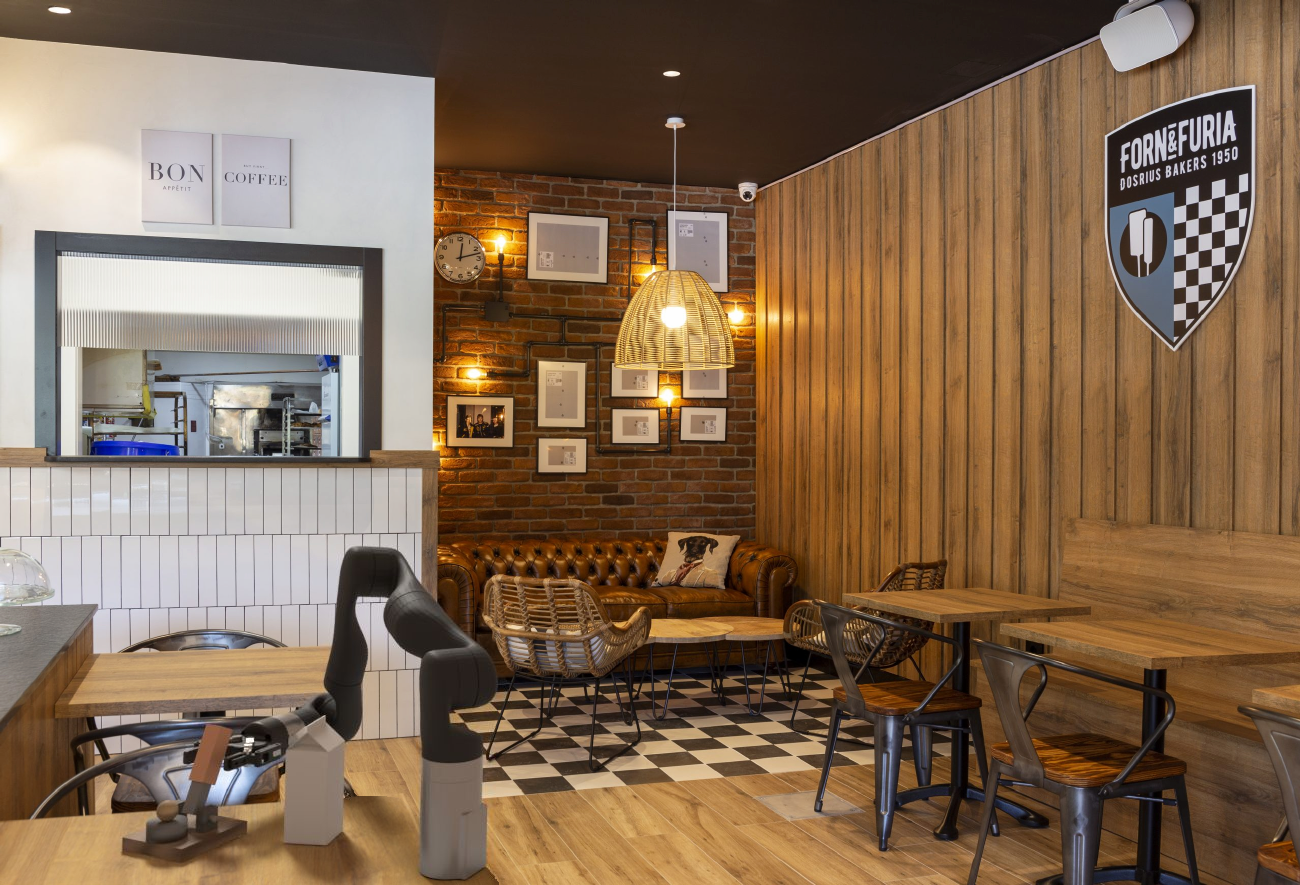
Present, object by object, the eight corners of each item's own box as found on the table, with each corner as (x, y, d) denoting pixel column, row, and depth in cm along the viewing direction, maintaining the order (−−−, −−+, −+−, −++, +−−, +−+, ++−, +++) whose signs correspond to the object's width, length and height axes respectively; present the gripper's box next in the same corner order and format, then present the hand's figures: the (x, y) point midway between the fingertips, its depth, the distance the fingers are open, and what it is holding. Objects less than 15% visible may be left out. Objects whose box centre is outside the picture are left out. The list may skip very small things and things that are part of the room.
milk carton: (343, 831, 180) (345, 716, 180) (326, 846, 173) (329, 727, 173) (301, 829, 181) (304, 714, 181) (283, 844, 174) (286, 725, 174)
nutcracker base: (247, 833, 178) (248, 786, 179) (181, 862, 166) (182, 811, 166) (190, 822, 183) (191, 776, 183) (122, 850, 170) (123, 800, 170)
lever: (205, 817, 176) (232, 729, 181) (192, 814, 173) (220, 726, 179) (190, 814, 177) (218, 727, 182) (177, 812, 174) (206, 724, 180)
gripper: (242, 712, 195) (171, 733, 180) (306, 721, 190) (239, 744, 175) (241, 754, 195) (170, 779, 180) (305, 764, 190) (238, 790, 175)
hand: (204, 761), depth 178 cm, fingers open, 8 cm apart
